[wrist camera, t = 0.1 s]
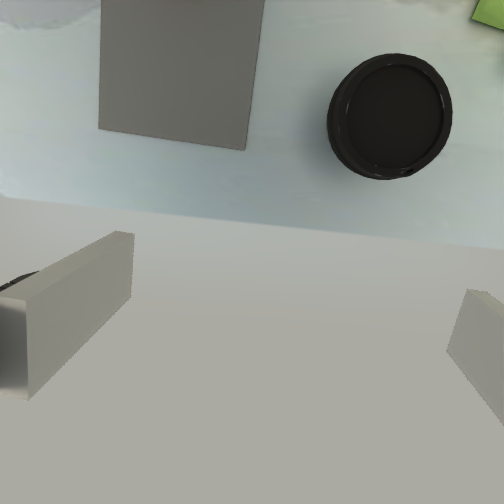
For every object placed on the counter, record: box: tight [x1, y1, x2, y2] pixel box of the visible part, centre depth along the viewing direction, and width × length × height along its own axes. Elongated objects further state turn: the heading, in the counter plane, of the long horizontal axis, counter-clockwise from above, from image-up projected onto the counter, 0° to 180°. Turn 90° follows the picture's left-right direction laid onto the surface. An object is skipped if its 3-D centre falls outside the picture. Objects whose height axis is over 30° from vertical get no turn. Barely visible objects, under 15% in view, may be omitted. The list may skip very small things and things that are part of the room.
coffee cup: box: [326, 53, 453, 180], centre depth 32 cm, size 8×8×15 cm
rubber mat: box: [98, 0, 264, 151], centre depth 37 cm, size 24×16×1 cm, turn 172°
